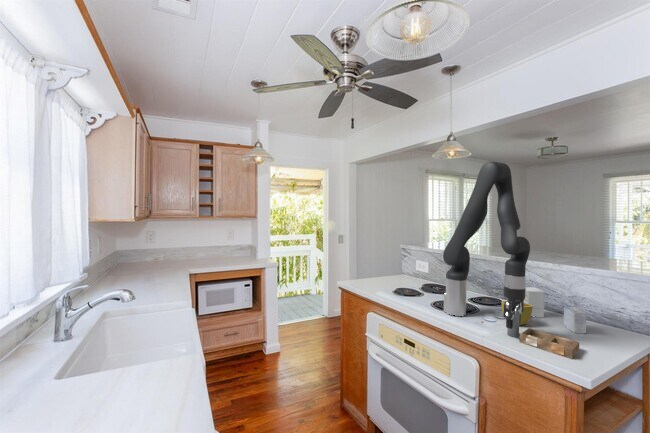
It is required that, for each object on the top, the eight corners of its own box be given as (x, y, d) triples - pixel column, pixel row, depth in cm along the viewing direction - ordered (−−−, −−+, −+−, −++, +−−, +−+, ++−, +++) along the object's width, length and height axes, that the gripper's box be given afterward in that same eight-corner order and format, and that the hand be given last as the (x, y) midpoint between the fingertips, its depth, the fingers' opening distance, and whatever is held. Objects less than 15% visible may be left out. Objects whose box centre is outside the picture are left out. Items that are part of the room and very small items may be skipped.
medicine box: (586, 334, 124) (587, 313, 124) (573, 333, 125) (574, 312, 124) (574, 326, 132) (575, 307, 131) (562, 325, 132) (563, 306, 132)
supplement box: (535, 312, 149) (535, 287, 148) (544, 318, 141) (545, 291, 141) (519, 311, 150) (520, 286, 149) (527, 317, 142) (528, 290, 142)
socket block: (519, 342, 116) (519, 334, 116) (528, 335, 122) (529, 327, 122) (571, 359, 103) (571, 350, 103) (579, 350, 110) (579, 341, 110)
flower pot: (517, 328, 129) (517, 307, 129) (500, 320, 138) (500, 301, 137) (532, 326, 132) (533, 305, 131) (515, 318, 140) (516, 299, 140)
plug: (505, 334, 123) (506, 310, 122) (509, 332, 125) (510, 308, 125) (516, 338, 119) (517, 313, 119) (520, 335, 122) (521, 311, 122)
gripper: (511, 281, 129) (510, 318, 129) (497, 286, 120) (496, 327, 121) (531, 285, 123) (530, 324, 124) (518, 291, 114) (517, 333, 115)
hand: (513, 325), depth 122 cm, fingers open, 8 cm apart
